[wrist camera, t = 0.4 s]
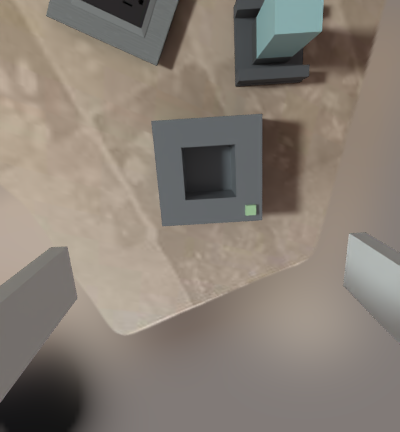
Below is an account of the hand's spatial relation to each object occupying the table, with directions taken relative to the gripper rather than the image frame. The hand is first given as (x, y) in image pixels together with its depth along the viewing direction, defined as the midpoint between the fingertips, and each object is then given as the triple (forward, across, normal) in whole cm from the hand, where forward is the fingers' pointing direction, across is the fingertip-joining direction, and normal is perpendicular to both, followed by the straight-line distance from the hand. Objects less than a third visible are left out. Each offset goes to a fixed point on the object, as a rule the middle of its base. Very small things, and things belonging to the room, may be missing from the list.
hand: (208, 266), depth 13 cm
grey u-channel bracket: (+26, +9, +16) cm, 31 cm away
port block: (+26, +1, +2) cm, 26 cm away
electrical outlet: (+27, -8, +22) cm, 35 cm away
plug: (+25, +9, +16) cm, 31 cm away
